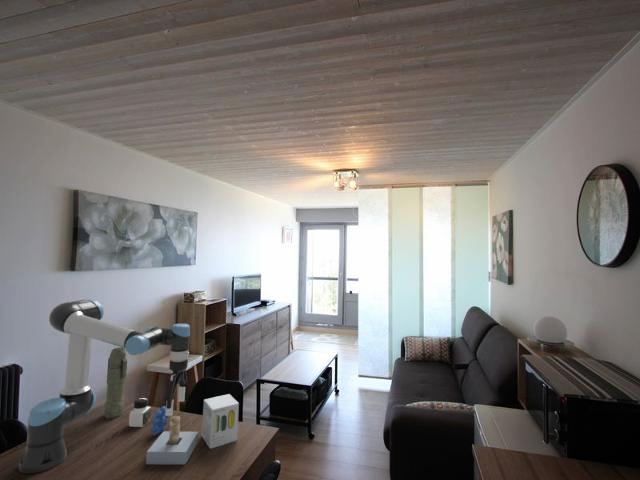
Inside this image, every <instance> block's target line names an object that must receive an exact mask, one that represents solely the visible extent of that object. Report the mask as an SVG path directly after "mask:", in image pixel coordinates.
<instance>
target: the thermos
mask: <svg viewBox="0 0 640 480" xmlns="http://www.w3.org/2000/svg"><path fill="white" fill-rule="evenodd" d="M127 368H128V359H127V351H126V348H123V347H115V348H113V349H112V350H111V351H110V354H109V357H108V359H107V373H106V384H107V386H106V387H107V388H106V398H105V399H106V400H105V402H104V409H103V411H104V416H103V417H104V418H105V419H108V420H109V419H117V418H119V417H122V415H124V408H125V399H124V398H125V397H124V395H125V393H124V392H125V383H126V382H125V381H126V378H127V370H128V369H127Z"/></svg>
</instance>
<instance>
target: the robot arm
mask: <svg viewBox="0 0 640 480" xmlns="http://www.w3.org/2000/svg"><path fill="white" fill-rule="evenodd" d="M103 317H104V307H103V305H102V304H100V302H99V301H97V300H95V299H91V298H89V299H81V300H74V301H67V302H63V303H60V304H58V305H57V306H55V307H54V308H52V310H51V311H50V313H49V317H48V318H49V319H48V320H49V324H50V326H51V327H52V329H54V330H56V331H59V332H60V333H64V334H68V336H69V337H68V346H67V347H68V348H67V355H66V356H67V358H66V367H65V368H66V370H65V377H64V378H65V380H64V387H63V388H62V389H60V391H59V397H55V398H50V399H48V400H47V399H46V400H43V401H40V402H39V403H37V404H36V405H34V406H32V408H31V409H30V411H29V414H28V415H29V416H28V418H27V435H26V436H27V437H26V447H25V449H24V451H23V452H22V453H23V454H22V455H21V457H20V460H19V463H18V471H19V472H20V473H22V474H36V473H37V474H38V473H40V472H45V471H47V470H50V469H53V468H54V467H56V466H58V465H59V464H61V463H63V461H65V459H66V458H67V456H68V449H67V447H66V443H65V440H64V430H65V427H67V426H68V425H70V424H72V423H73V422H76V421H77V420H78V419H81V418H83V417H85V416H86V415H87V414H89V413H90V412H91V411H92V410H93V408H94V407H95V405H96V401H97V395H96V393H94V389H92V386H91V385H90V384H89V382H88V381H89V374H90V360H91V350H92V339H94V340H96V341H99V342H103V343H106V344H109V345H113V346H116V347H118V348H124V349H125V351H126V353H128V354H129V355H131V356H137V355H142V354H145V352H148V351H150V350H151V349H153V348H156V347H158V346H170V350H169V351H170V353H169V365H168V366H169V367H168V368H169V370H170V371H172V373H171V374H170V375H169V376H168V382H167V386H166V390H165V394H164V399H163V401H164V402H165V401H166V402H165V403H166V405H165V407H166V413H165V416H169V417H173V416H174V414H173V413H174V397H175V392H176V389H177V385H179V387H178V393H177V394H178V395H177V402H185V397H186V395H185V394H186V387H188V381H189V380H188V375H187V374H188V373H187V369H188V365H189V363H188V360H189V359H188V358H189V355H190V352H189V351H190V349H189V348H190V347H189V345H190V338H191V337H190V336H191V326H190V325H189V324H188V323H175V324H173V325H172V327H159V326H149V327H148V328H147V329H146V330H144V332H141V331H137V330H134V329H130V328H127V327H123V326H120V325H117V324H114V323H110V322H108V321H104V320H102V319H103Z"/></svg>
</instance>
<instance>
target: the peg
mask: <svg viewBox="0 0 640 480" xmlns="http://www.w3.org/2000/svg"><path fill="white" fill-rule="evenodd" d="M180 426H181V416H179V415H172V416H170V419H169V431H170V434H169V445H178V444H179V432H180V431H181V429H180Z"/></svg>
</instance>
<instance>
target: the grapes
mask: <svg viewBox="0 0 640 480" xmlns="http://www.w3.org/2000/svg"><path fill="white" fill-rule="evenodd" d="M165 413H166V405H162V406H161V407H160V408H159V409H158V410H157V411H156V412H155V415H154V417H153V418H152V420H151V423H152V426H151V427H150V428H151V429H150V430H151V432H152V433H153V434H154V436H157V435H159V434H160V433H163V431H164V429H165V428H164V427H165V426H167V424H168V421H169V420H168V418H169V417H170V416H165Z"/></svg>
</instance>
